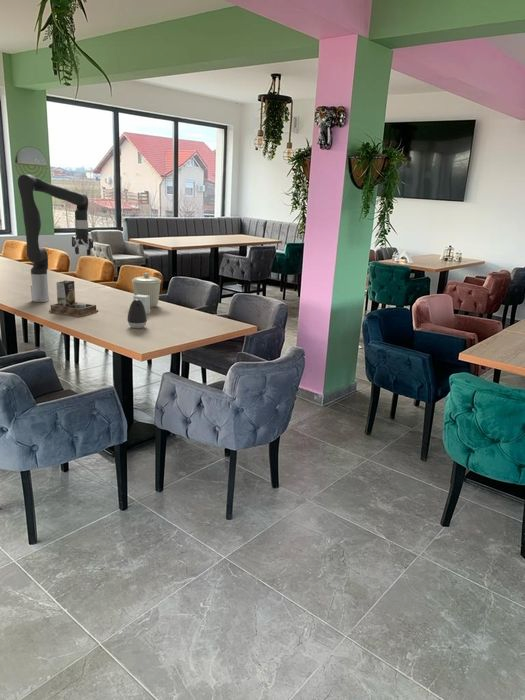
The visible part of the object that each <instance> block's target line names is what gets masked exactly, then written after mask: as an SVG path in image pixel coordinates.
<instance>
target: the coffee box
mask: <svg viewBox="0 0 525 700" xmlns="http://www.w3.org/2000/svg"><path fill="white" fill-rule="evenodd" d="M56 297H57V299H56V300H57V302H56V304H57V303H58V306H64V307H67V306H71V305H75V302H76V291H75V281H74V280H62V281H61V280H60V281H57V282H56Z"/></svg>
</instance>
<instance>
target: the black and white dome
mask: <svg viewBox="0 0 525 700" xmlns="http://www.w3.org/2000/svg"><path fill="white" fill-rule="evenodd" d="M127 313H128V314H127V322H128V325H129V327H131V328H132V329H143V328H145V326H146V324H147V321H148V314H146V311H145V307H144V305H143V303H142V302H141V301H140V300H138V299H136V300H132V302H131V303H130V305H129V309H128V311H127Z"/></svg>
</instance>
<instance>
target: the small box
mask: <svg viewBox="0 0 525 700" xmlns="http://www.w3.org/2000/svg"><path fill="white" fill-rule="evenodd" d="M136 299H138V300H140V301H141V302H142V303H143V305H144V307H145V311H146V315H149V314H151V308H150V296H148V295H139V294H138V295H135V296H134V295H133V300H136ZM133 300H132V301H133Z"/></svg>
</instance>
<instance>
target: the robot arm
mask: <svg viewBox="0 0 525 700" xmlns="http://www.w3.org/2000/svg"><path fill="white" fill-rule="evenodd" d="M17 185H18V186H17V187H18V191H19V195H20V199H21V207H22V208H21V209H22V214H23V215H22V216H23V223H24V230H25V237H26V257H27V259H28V261H29V262H31V263H32V264H33V265H32V267H31V269H30V276H31V285H30V292H31V293H30V294H31V301H32V302H35V303H45V302H46V303H47V302H49V301H50V296H49V281H48V270H49V269H48V268H49V257H48V256H49V254H48V251H47V249H46V248H44V247H42V246H40V244H39V243H40V242H39V236H40V232H41V227H42V221H41V215H40V211H39V209H38V206H37V204H36V201H35V197H34V191H35V192H40V193H44V194H47V195H49V196H51V197H53V198H56V199H59V200H61V201H66V202H68V203H70V204H72V205H76V209H75V211H74V229H75V230H74V231H75V233H74V234H75V236H72V237H71V248H72V247H73V248H74V253H75V255H80V249H79V247H80V246H81V245H82V246H84V247H86V256H91V253H92V252H91V250H92V249H94V241H93V240H94V239H93V237H91V238H89V222H88V207H89V198H88V195H86V194H85V193H83V192H75V191H73V190H70V189H68V188H66V187H62V186H59V185H56V184H53V183H49V182H47V181H44V180H42V179H41V178H38V177H36V176H34V175H33V174H20V175H19V177H18V178H17Z"/></svg>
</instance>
